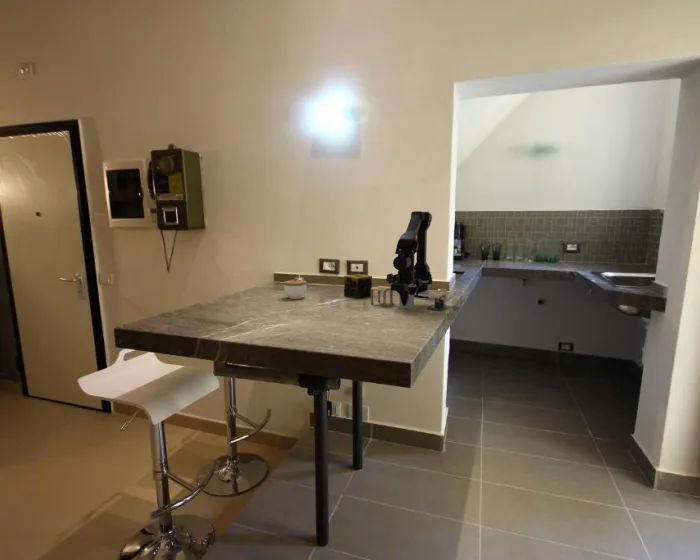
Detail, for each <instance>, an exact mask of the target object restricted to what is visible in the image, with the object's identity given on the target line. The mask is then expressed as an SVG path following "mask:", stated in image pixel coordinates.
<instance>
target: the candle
mask: <svg viewBox="0 0 700 560" xmlns="http://www.w3.org/2000/svg"><path fill="white" fill-rule="evenodd" d="M343 279H344V282H343V284H344V287H343V292H344V293H343V296H344V297H348V298H353V299H357V300H358V299H363V298H371V288H373V276H372V275H367V274H360V273H358V274H349V275H344V276H343Z"/></svg>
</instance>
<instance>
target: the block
mask: <svg viewBox="0 0 700 560" xmlns="http://www.w3.org/2000/svg"><path fill="white" fill-rule="evenodd" d="M398 301H399V303H398V304H399V306H398V307H399V308H401V309H411V308H414V306H415V296H414V295H409V297H408V300H407V303H406V305H405V306H403V304H402V301H401V298H400V297H399V300H398Z"/></svg>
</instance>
